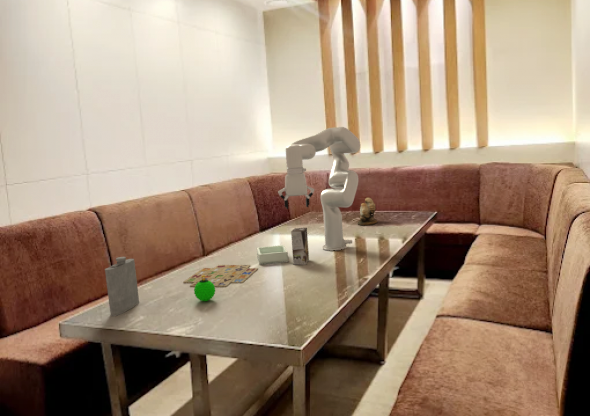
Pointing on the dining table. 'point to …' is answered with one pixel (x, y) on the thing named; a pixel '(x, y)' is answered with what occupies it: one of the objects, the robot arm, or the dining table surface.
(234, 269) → the alphabet tiles
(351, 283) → the dining table surface
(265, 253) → the bin
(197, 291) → the ornament
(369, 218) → the owl figurine
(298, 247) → the coffee box
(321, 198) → the robot arm
